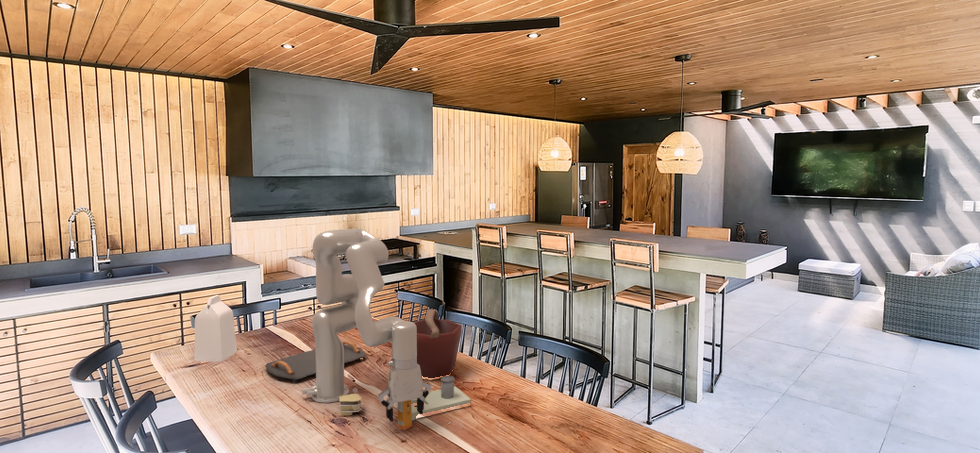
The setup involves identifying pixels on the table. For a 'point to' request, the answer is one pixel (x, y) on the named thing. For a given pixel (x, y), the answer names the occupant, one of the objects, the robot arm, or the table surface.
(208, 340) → the milk
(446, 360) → the bucket
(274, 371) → the serving board
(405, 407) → the supplement box
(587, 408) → the table surface
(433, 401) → the caddy
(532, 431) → the table surface
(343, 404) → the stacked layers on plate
